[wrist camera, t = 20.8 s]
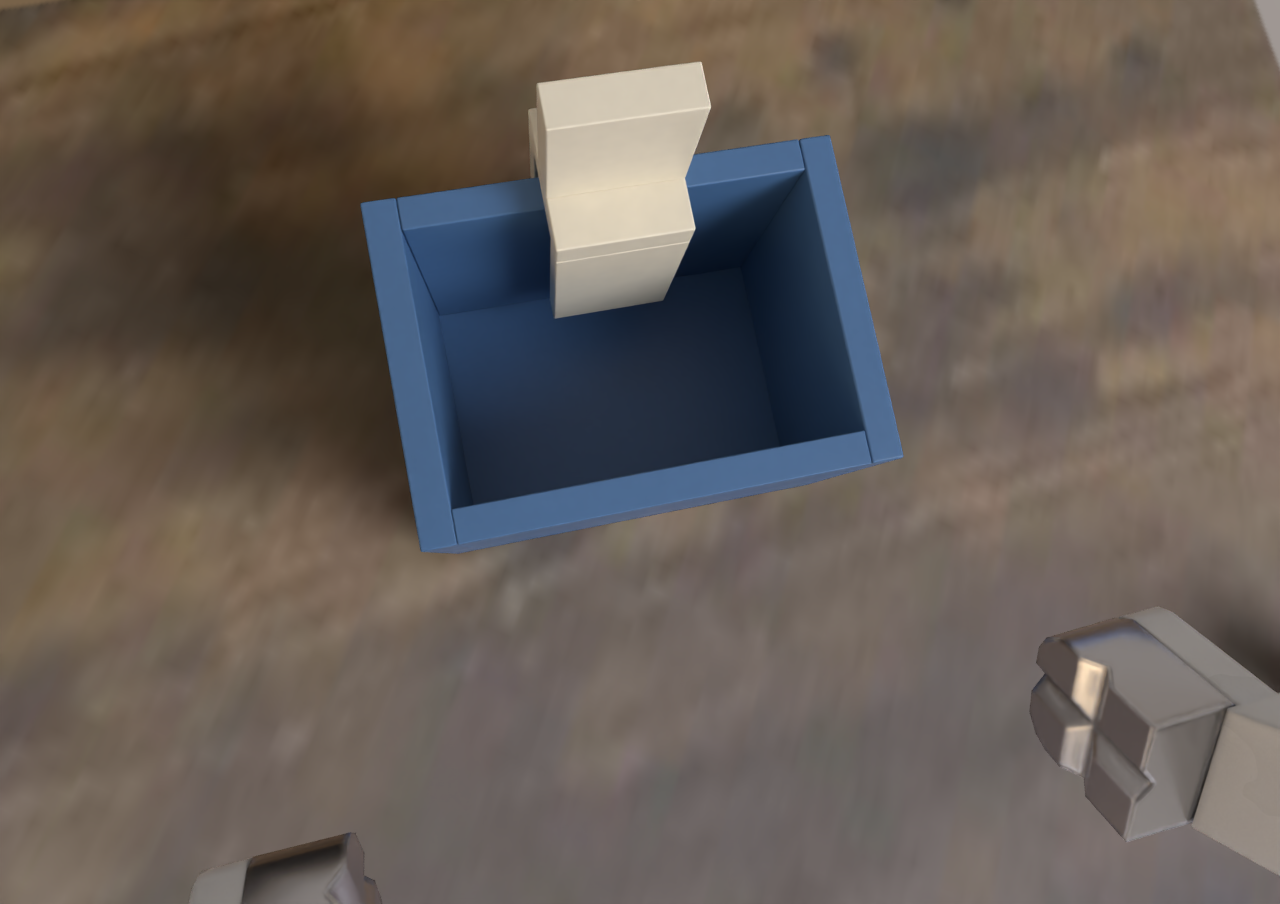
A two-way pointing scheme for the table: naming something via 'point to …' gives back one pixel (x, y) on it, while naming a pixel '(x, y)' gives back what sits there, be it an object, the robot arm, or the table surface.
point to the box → (627, 356)
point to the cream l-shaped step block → (616, 182)
